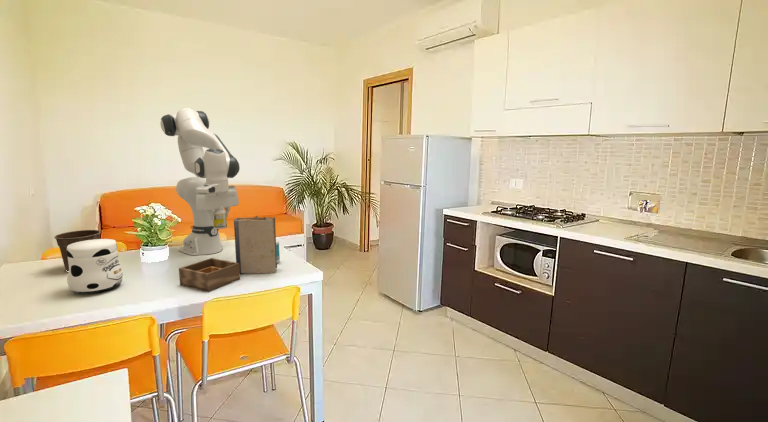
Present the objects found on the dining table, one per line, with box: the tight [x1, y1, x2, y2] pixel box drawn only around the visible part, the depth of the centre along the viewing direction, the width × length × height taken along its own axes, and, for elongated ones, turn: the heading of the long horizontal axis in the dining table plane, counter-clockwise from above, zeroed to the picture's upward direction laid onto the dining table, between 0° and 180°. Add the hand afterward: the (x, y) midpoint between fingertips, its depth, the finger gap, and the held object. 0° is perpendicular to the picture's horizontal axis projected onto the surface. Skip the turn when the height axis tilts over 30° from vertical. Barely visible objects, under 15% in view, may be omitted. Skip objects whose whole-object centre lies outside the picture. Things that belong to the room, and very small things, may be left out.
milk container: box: [66, 238, 124, 294], centre depth 153 cm, size 17×17×18 cm
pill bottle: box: [276, 238, 281, 264], centre depth 188 cm, size 8×7×14 cm
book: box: [233, 215, 278, 274], centre depth 174 cm, size 17×7×25 cm, turn 99°
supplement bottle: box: [213, 206, 228, 230], centre depth 173 cm, size 5×5×10 cm
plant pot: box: [53, 229, 102, 271], centre depth 176 cm, size 16×16×16 cm
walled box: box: [178, 257, 241, 293], centre depth 162 cm, size 16×16×7 cm
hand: (219, 218), depth 173 cm, fingers closed on supplement bottle, 5 cm apart
